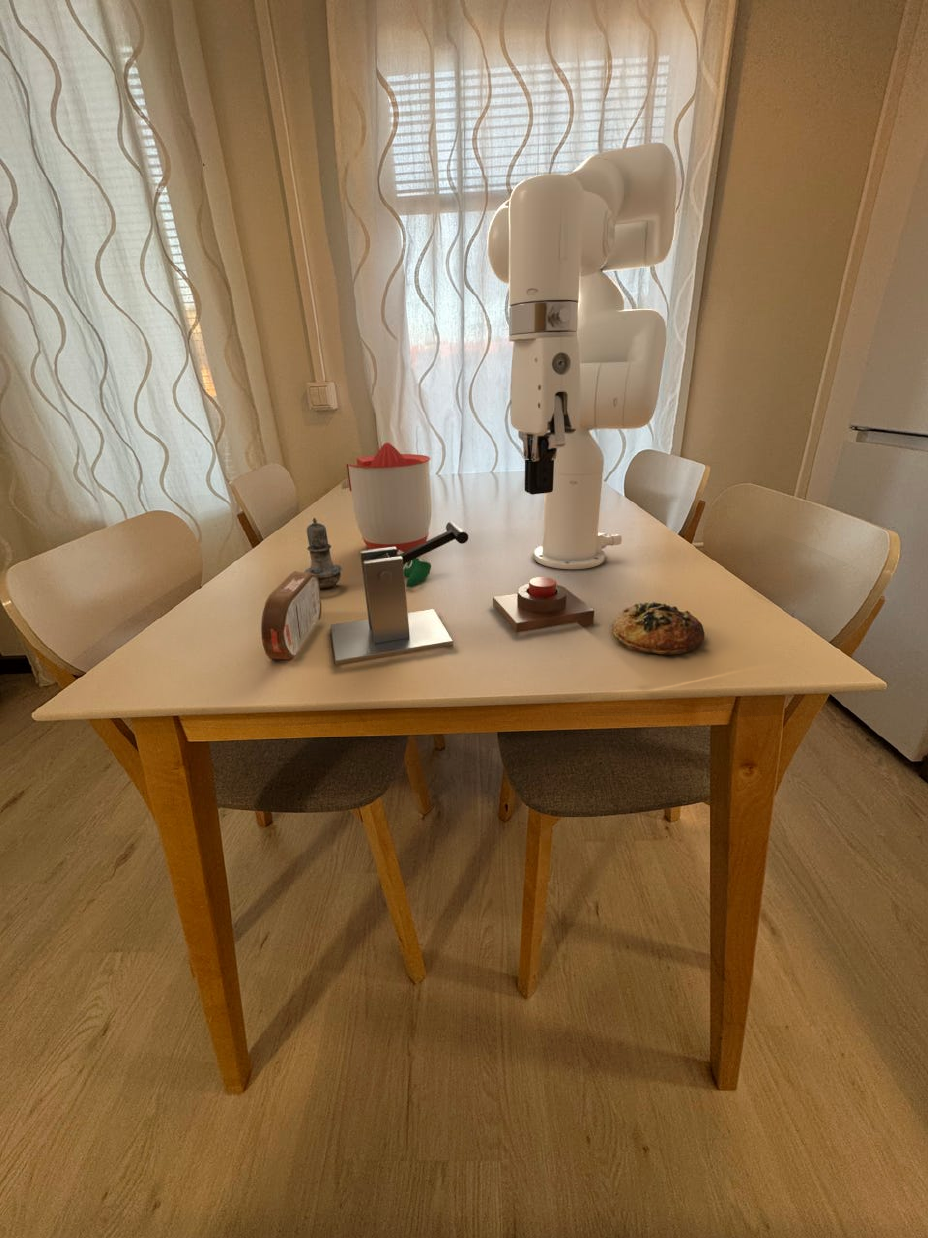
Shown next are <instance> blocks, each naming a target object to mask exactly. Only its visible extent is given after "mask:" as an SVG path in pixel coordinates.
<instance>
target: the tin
mask: <svg viewBox="0 0 928 1238" xmlns="http://www.w3.org/2000/svg"><path fill="white" fill-rule="evenodd" d="M321 616H322V600H321V589H320V588H319V580H318V578H317V576H316V575H315V574H313V573H304V571H303V572H300V571H297V570H296V571H295V570H294V571H293V572H291V573H290V574H289V575H288V576H287V577H286V578H285V579H284V580H283V581H282V582H281V583H280V584H279V585H278V586H276V588H275V589H274V590H273V591H272V592H271V593H270V594H269V595H268V597H267V598H266V601H265V603H264V607H263V611H262V615H261V623H260V631H261V643H262V647H263V650H264V653H265V655H266V656H267V658H269V659H270V660H271V661H273V660H284V661H285V660H293V659H294V658H295V657H296V654H297V652H298V650H299V649H300V648H301V646H302V645H303V644H304V642H305V641H306V639H307V638H308V636H309V635H310V633H311V631H312V630H313V628H314V626H315V625H316V624H317V623H318V621H320V619H321Z"/></svg>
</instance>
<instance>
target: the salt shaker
mask: <svg viewBox="0 0 928 1238" xmlns="http://www.w3.org/2000/svg"><path fill="white" fill-rule="evenodd" d="M317 521H318V519H316V517H313V519H312V523H311V524H309V525H308V526H307V527H306V535H307V541H308V546H307V548H306V550H307V551H309V556H310V567H309V568H307V569H305V570H304V571H303V573H313V574H315V575H316V576H317V578H318V580H319V588H320V590H328V589H333V588H341V587H342V586H341V585H339V584H338V583H339V581H340V579H341V575H342V571H343V567H342V566H340V565H339V564H334V562H333V560H332V557H331V550H330V549H331V548H332V545H331V544H329V541H328V540H329V539H328V534H327V533H328V532H327V528H326V526H325V525H324V524H322V523H319V522H317Z"/></svg>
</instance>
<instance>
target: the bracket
mask: <svg viewBox="0 0 928 1238" xmlns="http://www.w3.org/2000/svg"><path fill="white" fill-rule="evenodd" d="M385 553H387V554H388V555H389V557H390V558H384V559H375V558H377V557H379V556H381V555H383V554H385ZM397 554H398V553H397V549H396V547H388V548H380V549H371V550H369V549H365V550H363V549H362V550H359V556H360V557H359V559H360V565H361V573H362V580H363V588H364V589H363V590H364V595H365V605H366V611H367V618H366V619H359V620H353V621H345V622H339V623H332V624H330V632H331V639H332V647H333V655H334V663H335V666H339V665H347V664H352V663H359V662H363V661H364V662H365V661H370V660H375V659H381V658H386V657H393V656H399V655H404V654H411V653H416V652H423V651H427V650H428V651H429V650H434V649H440V648H445V647H452V646H454V640H453V639H452V637H451V636H450V634H449V632H448V631H447V629H446V627H445V626H444V624H443V622H442V621H441V619H440V617H439V615H438V614H437V612H436V611H435V609H434V608H432V609H424V610H419V611H412V612H411V611H410V612H409V611H408V603H407V602H408V601H407V591H406V581H405V580H406V578H405V577H404V568H403V559H402V557H401V556H400V557H396V556H397ZM373 559H375V560H373Z"/></svg>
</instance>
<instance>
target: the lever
mask: <svg viewBox="0 0 928 1238" xmlns="http://www.w3.org/2000/svg"><path fill="white" fill-rule="evenodd" d="M445 530H446V531H443V532H442V533H441V534H438V535H437V536H434V537H432V538H430V539H427V540H426V542H424V543H422V544H420V545H418V546H416V547H414V548H412V549H410V550H408V551H406V552H404V553H402V554H400V555H398V556H396V557H400V556H401V557H402V559H403V564H405V563H407V562H409V561H411V560H413V559H415V558H418V559H419V558H420V556H422V557H423V556H424V555H426V554H428V553H429V552H431V551H433V550H436V549H438V548H439V547H442V546H444V545H446V544H449V543H450V542H452V541H454V540H455V541H456V542H457V543H458V544H462V545H463V544H465V543H467V542H468V541H469V534H468V533H467V532H466V531H465V530H464V529H463V528H462V527H461V526H460V525H458V524H457V523H456V522H455V521H449V522H447V523H446V525H445ZM384 558H390V557H389V555H388V554H387V553H385V554H383V555H381V556H379V557H377V558H375V559H384ZM375 559H373V560H375Z"/></svg>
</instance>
